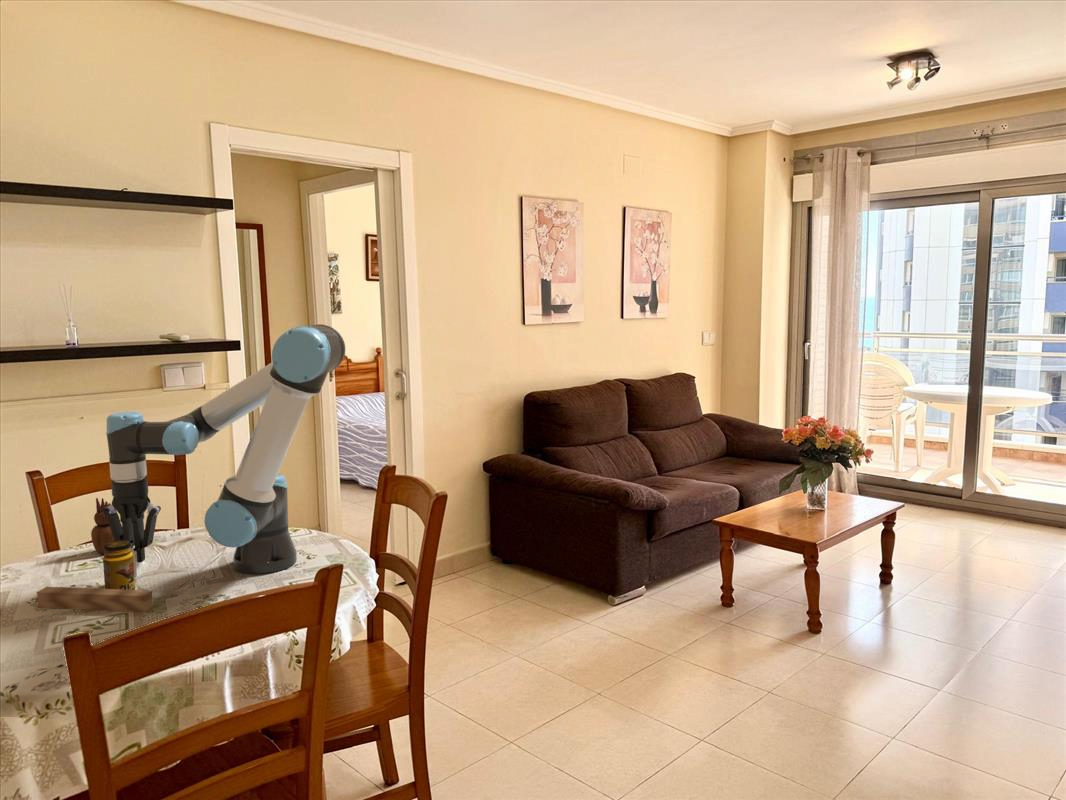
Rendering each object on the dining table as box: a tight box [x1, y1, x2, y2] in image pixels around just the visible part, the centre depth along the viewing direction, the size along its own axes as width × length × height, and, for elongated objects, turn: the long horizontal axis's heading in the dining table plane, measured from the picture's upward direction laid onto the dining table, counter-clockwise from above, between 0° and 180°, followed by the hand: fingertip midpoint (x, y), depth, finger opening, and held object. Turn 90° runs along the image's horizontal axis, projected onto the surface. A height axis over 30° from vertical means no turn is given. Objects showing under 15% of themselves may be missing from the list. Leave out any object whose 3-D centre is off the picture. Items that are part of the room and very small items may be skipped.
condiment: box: [102, 540, 138, 590], centre depth 170 cm, size 7×8×12 cm
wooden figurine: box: [90, 497, 115, 555], centre depth 196 cm, size 7×6×15 cm
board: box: [36, 586, 154, 613], centre depth 163 cm, size 24×3×4 cm, turn 87°
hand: (137, 574), depth 178 cm, fingers closed
